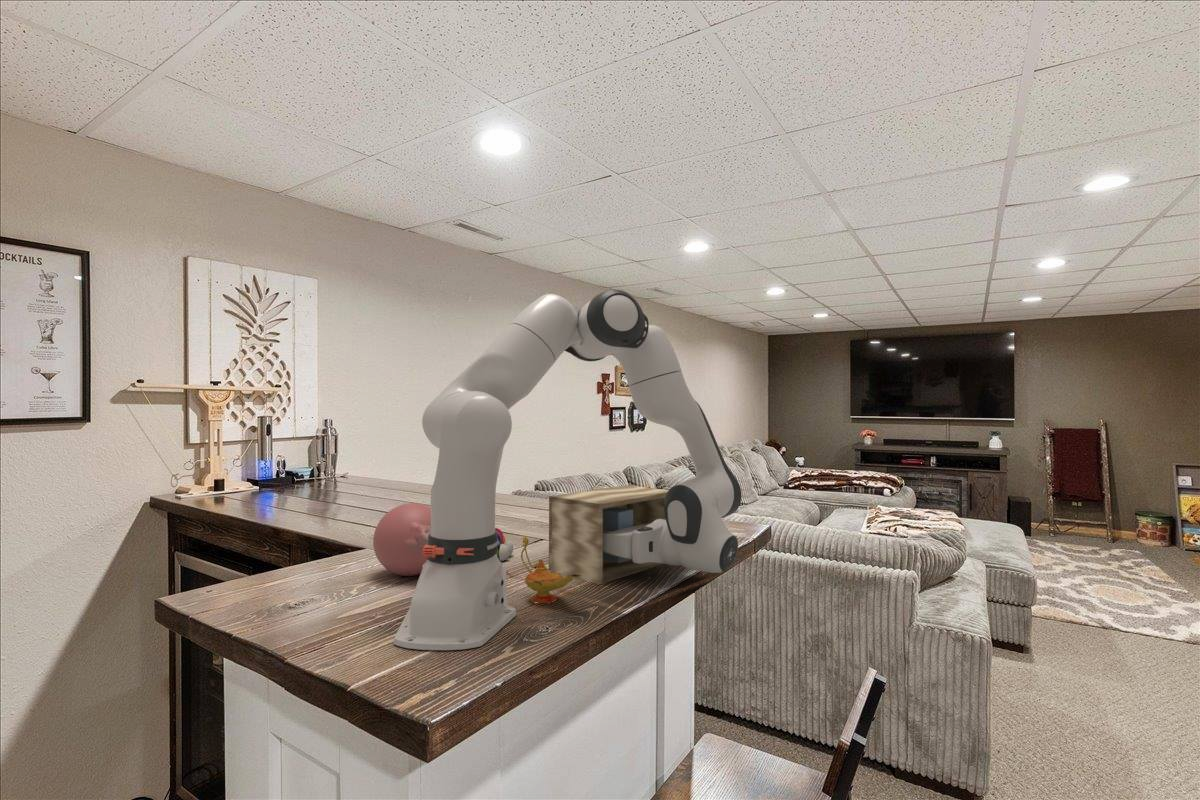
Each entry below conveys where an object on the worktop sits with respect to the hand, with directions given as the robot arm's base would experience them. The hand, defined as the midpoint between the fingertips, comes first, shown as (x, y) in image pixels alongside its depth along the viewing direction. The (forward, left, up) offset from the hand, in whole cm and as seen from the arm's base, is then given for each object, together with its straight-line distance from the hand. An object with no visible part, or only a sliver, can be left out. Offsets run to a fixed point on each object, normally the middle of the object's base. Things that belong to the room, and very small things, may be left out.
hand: (614, 531), depth 132 cm
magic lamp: (-23, +12, -9) cm, 27 cm away
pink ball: (-9, +43, -9) cm, 44 cm away
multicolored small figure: (+8, +29, -9) cm, 32 cm away
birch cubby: (0, 0, -8) cm, 9 cm away
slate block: (-1, -1, -6) cm, 6 cm away
